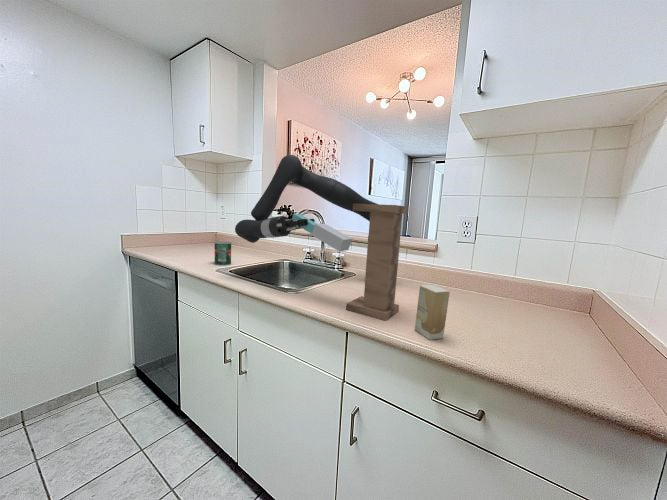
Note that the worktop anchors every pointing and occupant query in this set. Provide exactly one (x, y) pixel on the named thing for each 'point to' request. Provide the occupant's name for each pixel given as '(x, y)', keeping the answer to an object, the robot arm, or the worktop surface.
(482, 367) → the worktop surface
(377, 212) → the tall wooden column
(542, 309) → the worktop surface
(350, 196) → the robot arm
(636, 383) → the worktop surface
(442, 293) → the skincare box
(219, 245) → the canned tomato
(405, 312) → the worktop surface
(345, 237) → the tool
